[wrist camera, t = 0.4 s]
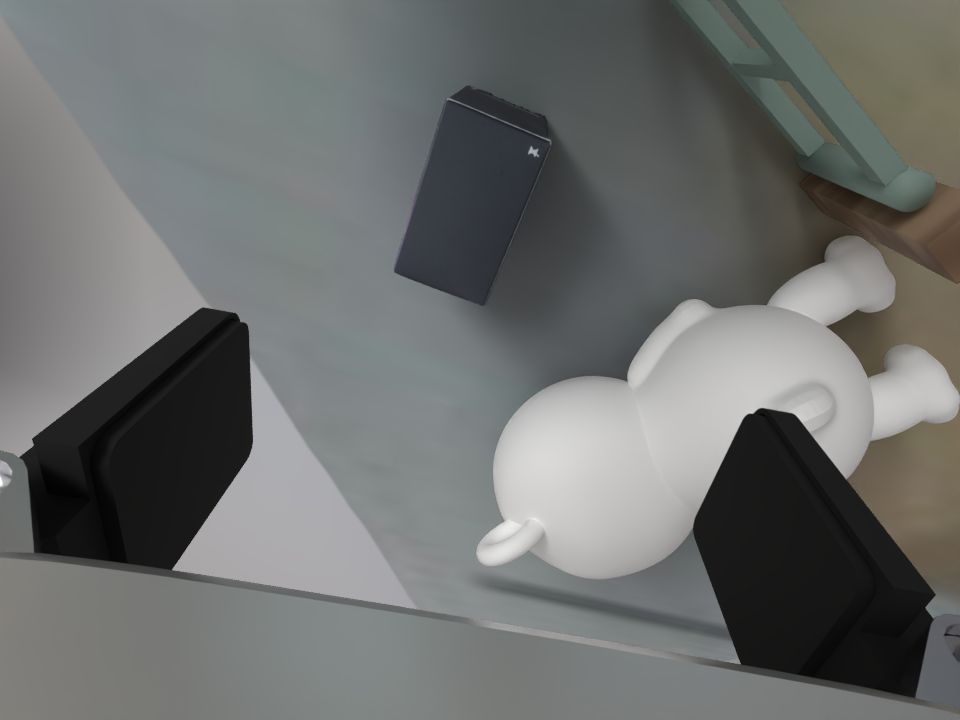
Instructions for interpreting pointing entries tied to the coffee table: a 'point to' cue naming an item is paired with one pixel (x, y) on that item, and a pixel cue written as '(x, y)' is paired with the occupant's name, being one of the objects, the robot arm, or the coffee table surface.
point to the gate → (808, 101)
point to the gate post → (899, 223)
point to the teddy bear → (700, 418)
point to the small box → (472, 194)
